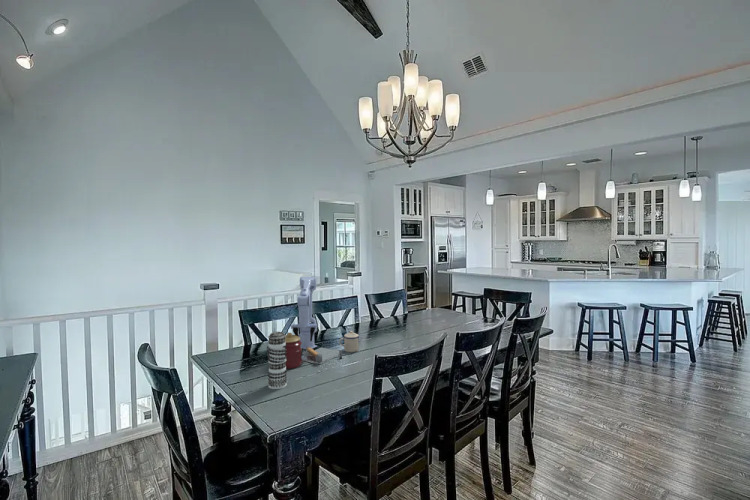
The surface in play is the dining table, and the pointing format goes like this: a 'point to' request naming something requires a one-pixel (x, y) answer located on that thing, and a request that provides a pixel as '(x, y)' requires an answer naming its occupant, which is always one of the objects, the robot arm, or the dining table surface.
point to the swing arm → (315, 354)
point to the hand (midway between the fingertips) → (304, 340)
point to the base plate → (326, 355)
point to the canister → (293, 351)
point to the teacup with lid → (350, 342)
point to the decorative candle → (277, 360)
